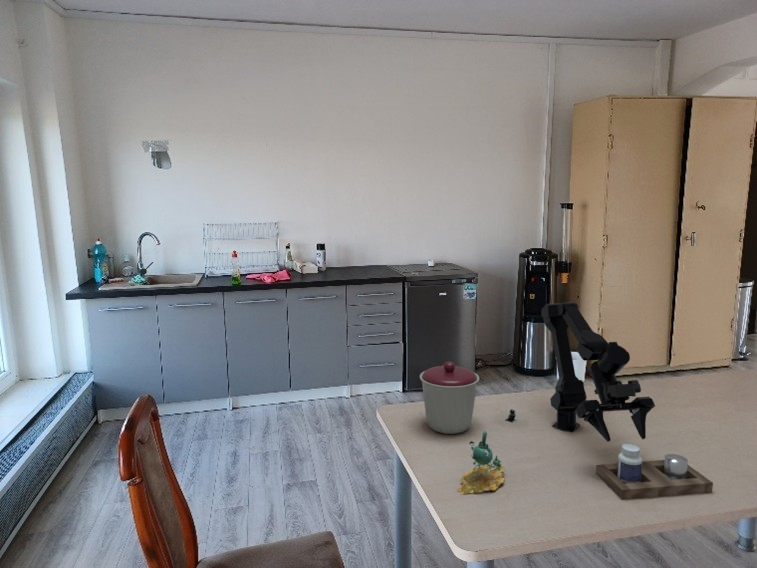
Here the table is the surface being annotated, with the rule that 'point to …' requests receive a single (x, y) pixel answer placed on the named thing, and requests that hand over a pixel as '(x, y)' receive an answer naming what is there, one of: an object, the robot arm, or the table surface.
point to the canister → (449, 397)
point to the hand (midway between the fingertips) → (626, 440)
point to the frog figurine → (482, 470)
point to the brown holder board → (653, 482)
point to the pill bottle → (629, 464)
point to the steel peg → (675, 467)
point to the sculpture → (511, 416)
